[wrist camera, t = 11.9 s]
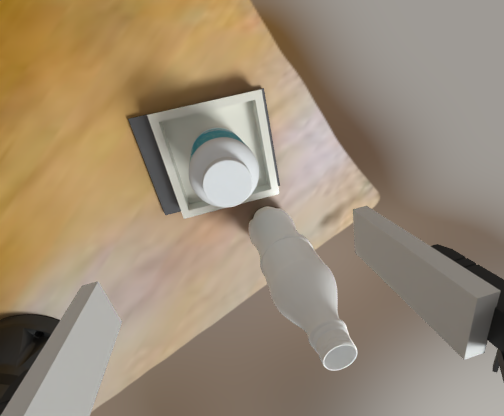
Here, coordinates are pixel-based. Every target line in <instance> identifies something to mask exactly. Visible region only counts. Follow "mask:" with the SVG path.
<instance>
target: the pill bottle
mask: <svg viewBox="0 0 504 416" xmlns="http://www.w3.org/2000/svg"><path fill="white" fill-rule="evenodd" d="M258 179H259V165H258V162H257V159H256V157H255V155H254V154H253V152H252V151H251V150H250V148H249V147H248V146H247V145H246V144H245V143H244V142H243V141H242V140H241V139H240V138H239V137H238V136H237V135H236V134H235V133H234V132H232V131H230V130H228V129H225V128H211V129H208V130H205V131H204V132H202V133H201V134H200V135H199V136H198V137H197V138H196V139H195V141H194V143H193V145H192V149H191V156H190V163H189V181H190V184H191V186H192V189H193V190H194V192H195V193H196V194H197V196H198V197H199V198H201V199H202V200H203V201H204V202H206V203H208V204H210V205H213V206H217V207H234V206H237V205H239V204H241V203H242V202H244V201H245V200H246V199H247V198H248V197H249V196H250V195H251V194H252V193H253V191H254V190H255V188H256V186H257V183H258Z"/></svg>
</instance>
